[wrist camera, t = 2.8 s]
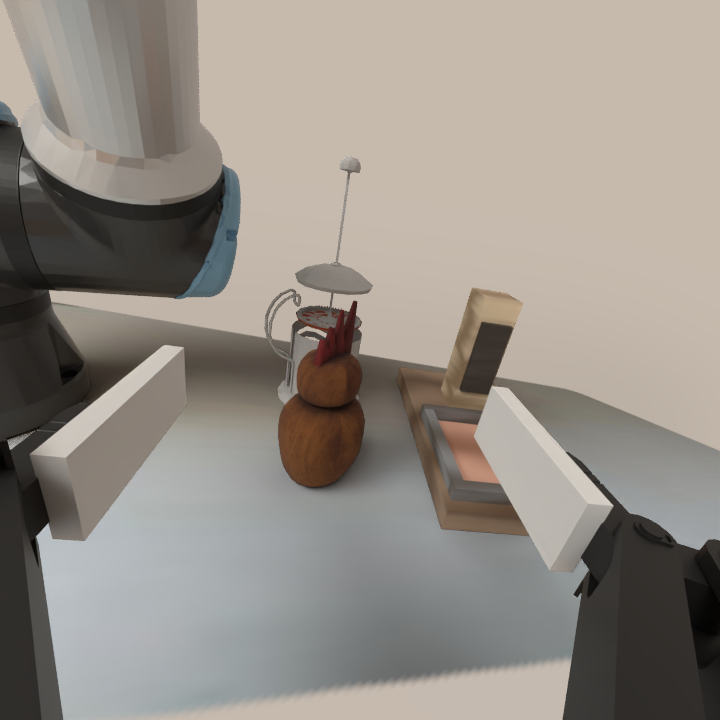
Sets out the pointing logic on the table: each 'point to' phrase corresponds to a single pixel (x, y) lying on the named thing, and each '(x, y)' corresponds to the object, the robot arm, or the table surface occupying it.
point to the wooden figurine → (324, 410)
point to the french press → (318, 317)
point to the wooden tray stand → (463, 419)
